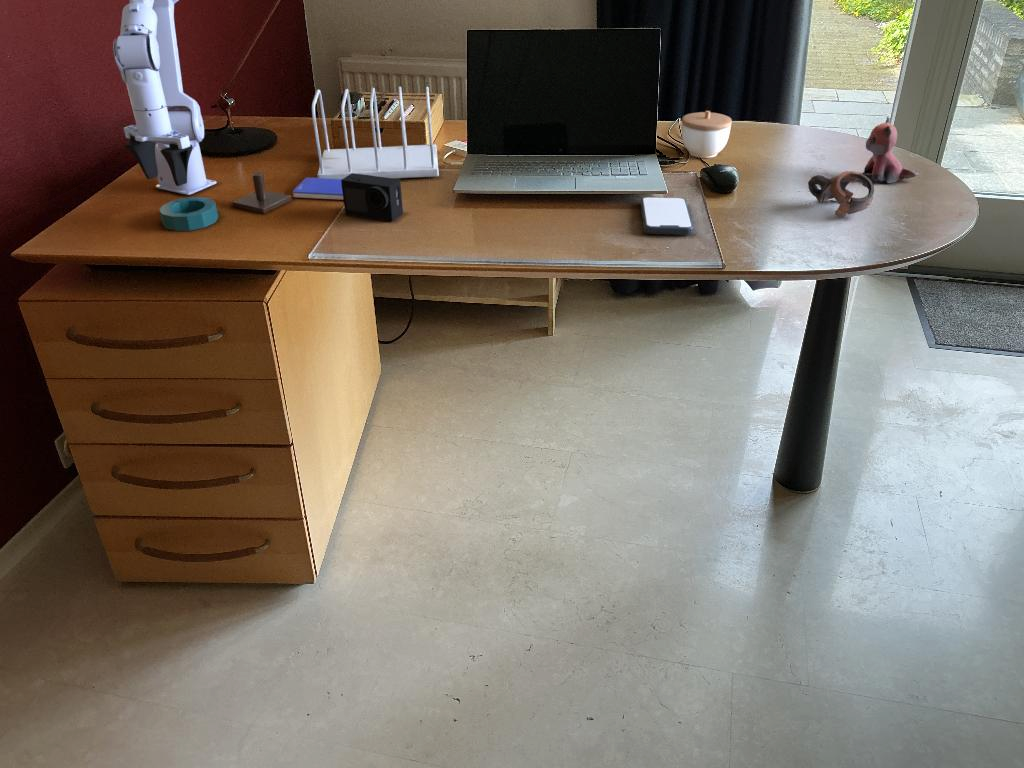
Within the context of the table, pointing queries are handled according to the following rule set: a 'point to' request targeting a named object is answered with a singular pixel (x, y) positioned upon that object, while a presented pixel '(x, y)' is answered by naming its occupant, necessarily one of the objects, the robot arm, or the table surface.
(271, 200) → the stand
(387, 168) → the file sorter
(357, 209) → the digital camera
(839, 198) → the brown curved piece
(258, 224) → the table surface
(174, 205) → the ring
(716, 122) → the trinket box
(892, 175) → the stuffed fox
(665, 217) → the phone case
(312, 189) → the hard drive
